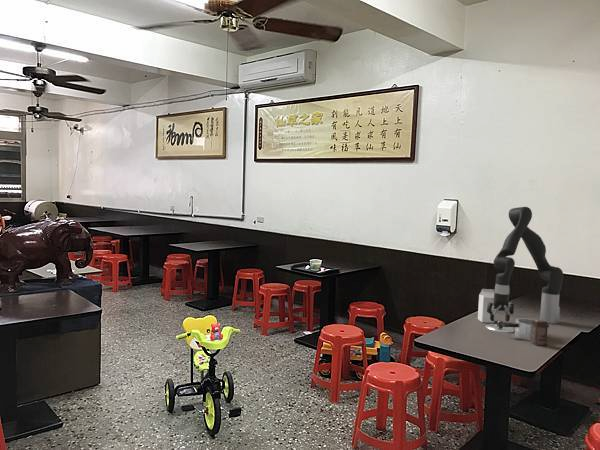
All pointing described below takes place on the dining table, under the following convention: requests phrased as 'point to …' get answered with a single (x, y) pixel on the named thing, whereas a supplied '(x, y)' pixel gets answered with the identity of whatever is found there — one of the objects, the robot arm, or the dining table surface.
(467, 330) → the dining table surface
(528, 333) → the pot
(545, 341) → the box
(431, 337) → the dining table surface
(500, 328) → the lid
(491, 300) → the milk carton
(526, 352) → the dining table surface
